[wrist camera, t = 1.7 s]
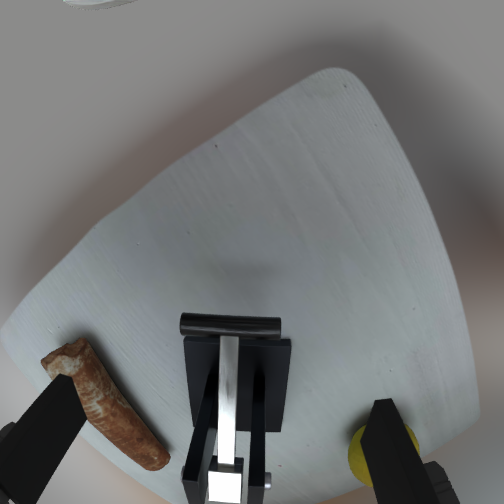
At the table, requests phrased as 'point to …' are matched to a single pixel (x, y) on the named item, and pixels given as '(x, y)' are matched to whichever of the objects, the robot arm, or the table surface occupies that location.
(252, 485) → the bracket
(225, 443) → the lever
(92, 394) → the bread
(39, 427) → the robot arm
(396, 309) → the table surface
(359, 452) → the lemon
